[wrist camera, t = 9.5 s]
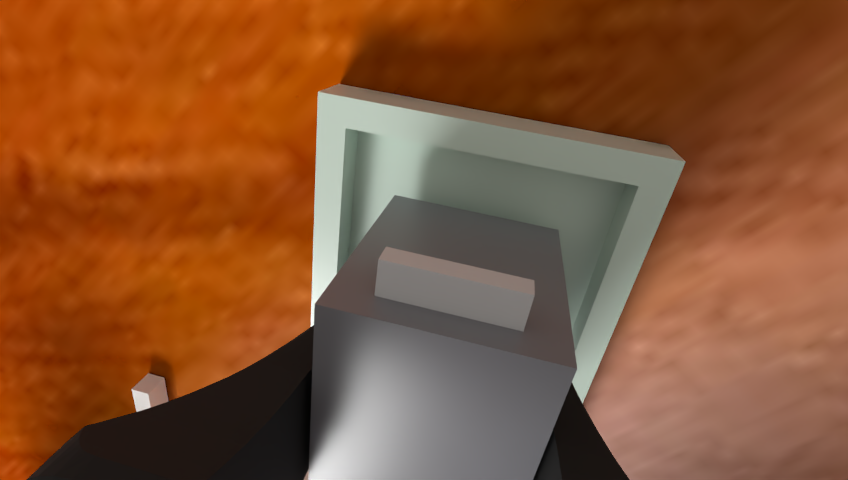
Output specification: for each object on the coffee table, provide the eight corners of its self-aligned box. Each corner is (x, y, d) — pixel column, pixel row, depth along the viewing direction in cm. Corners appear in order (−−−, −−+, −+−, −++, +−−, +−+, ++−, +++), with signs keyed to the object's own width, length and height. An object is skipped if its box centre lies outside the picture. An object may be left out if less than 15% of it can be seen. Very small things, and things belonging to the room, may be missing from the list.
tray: (668, 145, 12) (685, 161, 11) (548, 446, 18) (549, 481, 16) (339, 83, 13) (318, 91, 12) (323, 386, 19) (308, 414, 17)
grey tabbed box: (567, 203, 12) (592, 331, 7) (501, 410, 16) (489, 588, 11) (398, 168, 13) (315, 265, 8) (373, 377, 16) (306, 532, 11)
